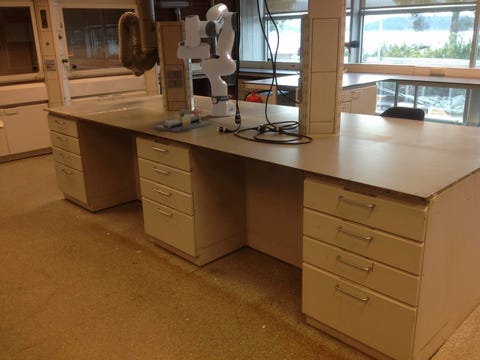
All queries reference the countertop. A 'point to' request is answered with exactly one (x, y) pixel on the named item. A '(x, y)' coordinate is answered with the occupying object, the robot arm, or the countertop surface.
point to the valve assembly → (182, 123)
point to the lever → (189, 112)
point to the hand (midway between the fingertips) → (194, 66)
